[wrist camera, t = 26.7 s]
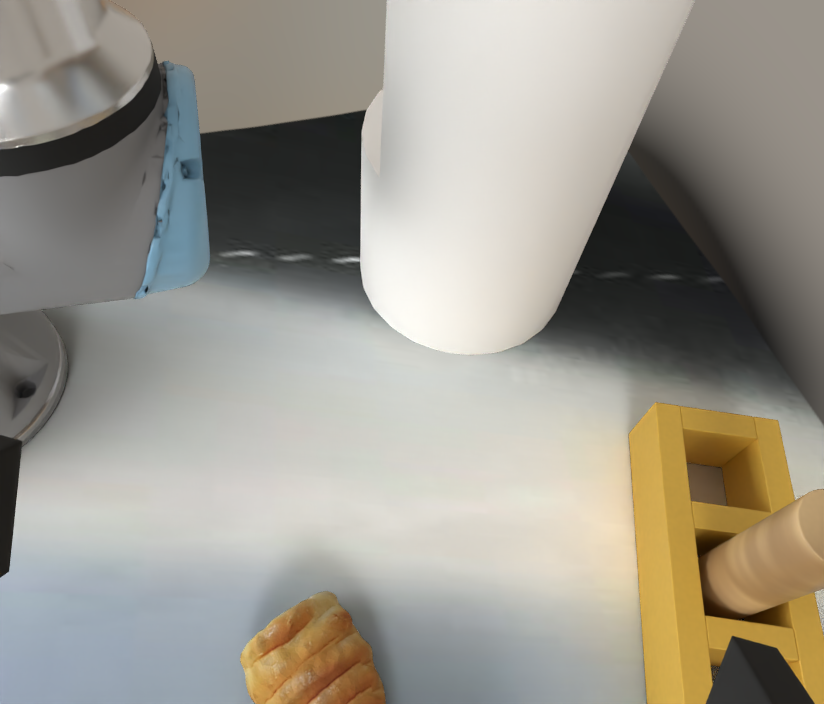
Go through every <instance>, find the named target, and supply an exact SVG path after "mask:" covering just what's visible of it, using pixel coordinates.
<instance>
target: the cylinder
mask: <svg viewBox="0 0 824 704" xmlns="http://www.w3.org/2000/svg"><path fill="white" fill-rule="evenodd" d="M694 2H695V0H387V10H386V11H387V12H386V35H385V58H384V82H383V83H384V84H383V89H382V90H381V91H379V93H378V94H377V95H376V97H375V98H374V100H373V101H372V103H371V104H370V106H369V107H368V109H367V110H366V114H365V119H364V123H363V128H362V150H361V249H360V268H361V275H362V281H363V288H364V290H365V292H366V294H367V296H368V298H369V300H370V302H371V304H372V306H373V308H374V309H375V310H376V312H377V313H378V314H379V315H380V316H381V317H382V318H383V319H384V320H385V321H386V322H387V323H388V324H389V325H390V327H391V328H393V329H395V330H396V331H398V332H399V333H401V334H402V335H404V336H405V337H407V338H409V339H410V340H412V341H413V342H415V343H418V344H421V345H424V346H426V347H429V348H432V349H435V350H438V351H440V352H447V353H455V354H463V355H479V354H489V353H498V352H501V351H504V350H506V349H509V348H512V347H515V346H518V345H520V344H523V343H524V342H526V341H527V340H529V339H530V338H531V337H533V336H534V335H536V334H537V333H538V332H540V331H541V330H542V329H543V328H544V327H545V325H546V324H547V323H548V321H549V320H550V319H551V317H552V316H553V315H554V313H555V312H556V310H557V307H558V305H559V303H560V301H561V298H562V296H563V294H564V292H565V290H566V287H567V285H568V283H569V281H570V278H571V276H572V274H573V272H574V269H575V267H576V265H577V263H578V261H579V258H580V256H581V254H582V252H583V249H584V247H585V245H586V243H587V240H588V238H589V236H590V234H591V232H592V229H593V227H594V225H595V223H596V220H597V218H598V216H599V214H600V211H601V209H602V207H603V205H604V203H605V200H606V198H607V196H608V194H609V191H610V189H611V187H612V185H613V182H614V180H615V178H616V176H617V174H618V171H619V169H620V167H621V165H622V162H623V160H624V158H625V156H626V153H627V151H628V149H629V147H630V145H631V142H632V140H633V138H634V136H635V133H636V131H637V129H638V127H639V124H640V122H641V120H642V118H643V115H644V113H645V111H646V109H647V106H648V104H649V102H650V100H651V98H652V95H653V93H654V91H655V89H656V87H657V84H658V82H659V80H660V77H661V75H662V73H663V71H664V69H665V66H666V64H667V62H668V60H669V58H670V55H671V53H672V51H673V49H674V46H675V44H676V42H677V40H678V37H679V35H680V33H681V31H682V29H683V26H684V24H685V22H686V20H687V17H688V15H689V13H690V10H691V8H692V6H693V4H694Z"/></svg>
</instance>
